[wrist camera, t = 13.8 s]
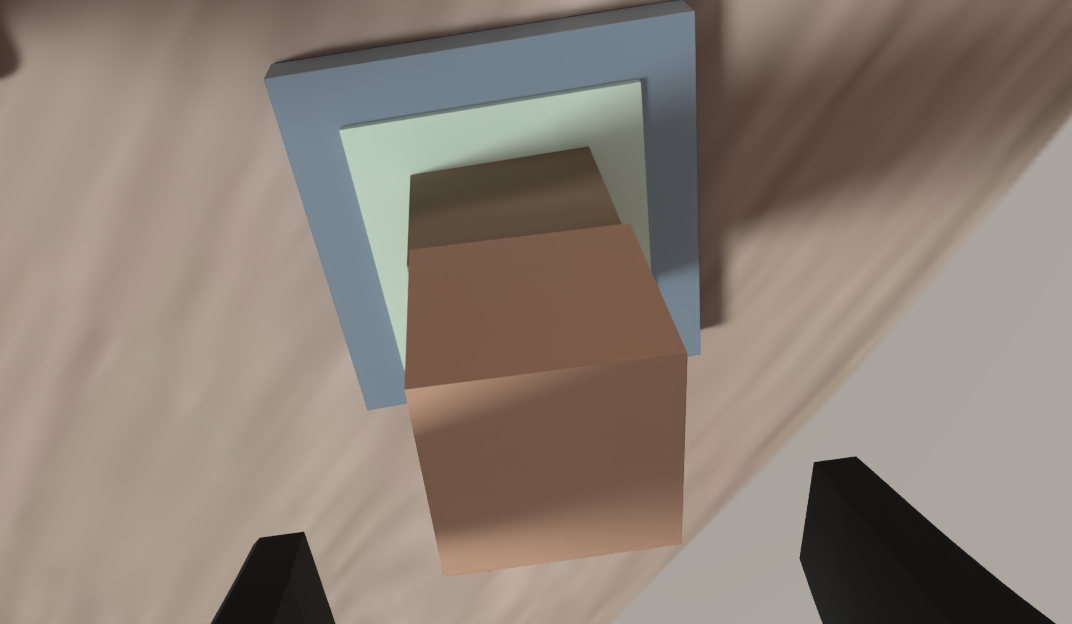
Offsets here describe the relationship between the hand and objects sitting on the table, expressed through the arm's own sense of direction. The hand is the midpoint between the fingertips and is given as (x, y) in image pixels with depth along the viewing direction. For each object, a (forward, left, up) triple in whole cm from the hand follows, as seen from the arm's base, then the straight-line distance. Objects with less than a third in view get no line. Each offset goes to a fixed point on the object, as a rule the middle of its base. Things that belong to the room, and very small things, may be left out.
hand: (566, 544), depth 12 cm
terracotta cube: (0, 0, -5) cm, 5 cm away
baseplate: (0, 0, -10) cm, 10 cm away
